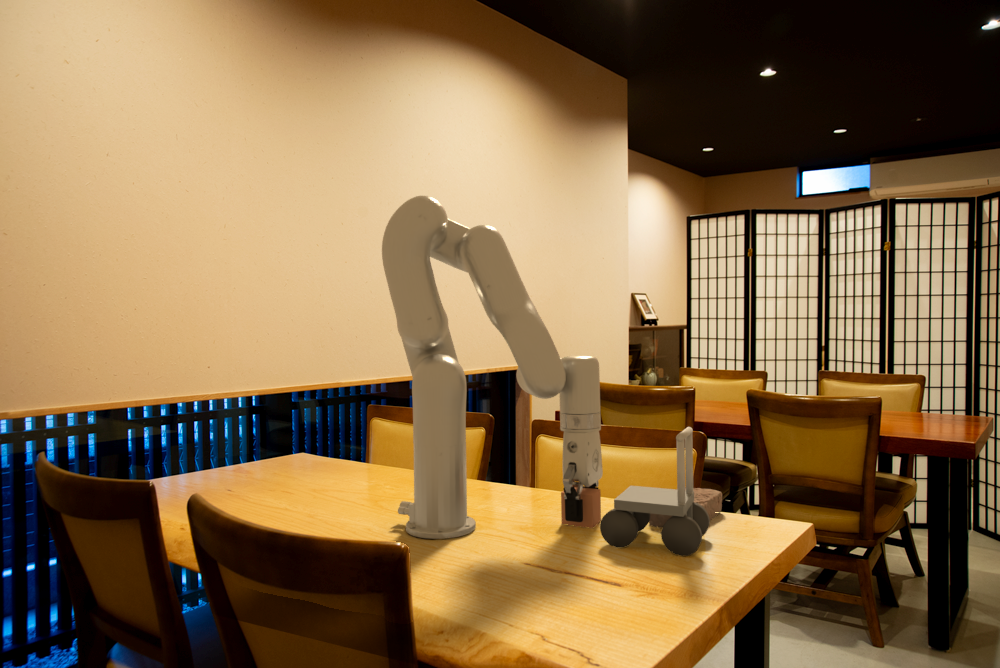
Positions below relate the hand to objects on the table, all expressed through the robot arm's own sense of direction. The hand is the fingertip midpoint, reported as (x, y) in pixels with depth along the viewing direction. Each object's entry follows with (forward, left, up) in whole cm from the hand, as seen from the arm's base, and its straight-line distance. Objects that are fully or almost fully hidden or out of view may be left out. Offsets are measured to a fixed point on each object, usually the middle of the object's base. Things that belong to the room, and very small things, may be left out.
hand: (582, 514), depth 117 cm
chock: (0, 0, -2) cm, 2 cm away
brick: (+17, +10, -2) cm, 20 cm away
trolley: (+15, -6, -2) cm, 16 cm away
